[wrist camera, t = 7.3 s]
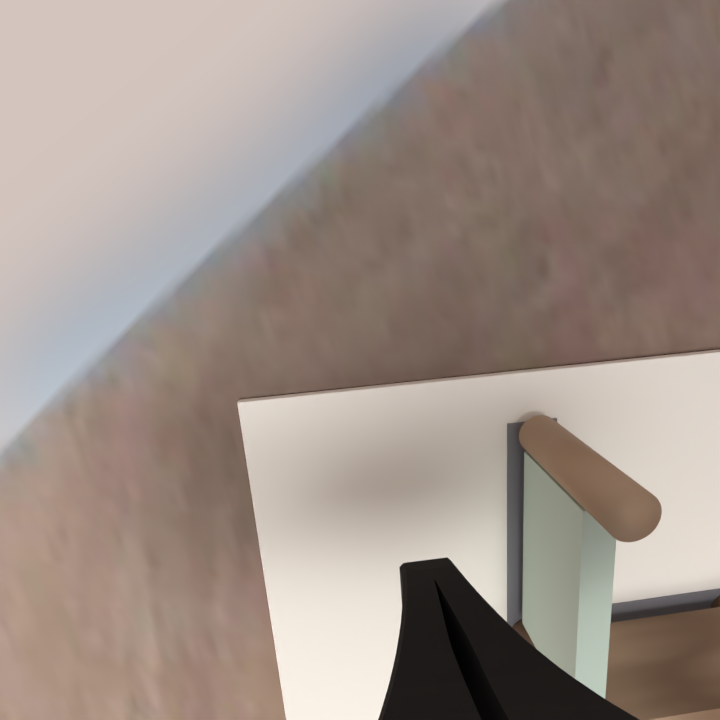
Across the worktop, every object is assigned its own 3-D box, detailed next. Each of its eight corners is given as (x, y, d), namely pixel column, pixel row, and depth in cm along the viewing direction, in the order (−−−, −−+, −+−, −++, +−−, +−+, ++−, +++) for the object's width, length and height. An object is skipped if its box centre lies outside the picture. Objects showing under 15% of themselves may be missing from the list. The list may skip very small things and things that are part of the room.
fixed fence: (743, 584, 19) (906, 716, 14) (737, 620, 20) (893, 761, 14) (507, 618, 19) (583, 770, 13) (507, 655, 19) (581, 815, 14)
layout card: (795, 341, 17) (804, 343, 17) (723, 785, 23) (730, 794, 22) (238, 399, 16) (237, 403, 15) (309, 857, 21) (309, 868, 21)
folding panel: (552, 618, 18) (638, 755, 13) (517, 623, 18) (590, 763, 13) (558, 412, 16) (663, 487, 11) (519, 417, 16) (608, 494, 11)
